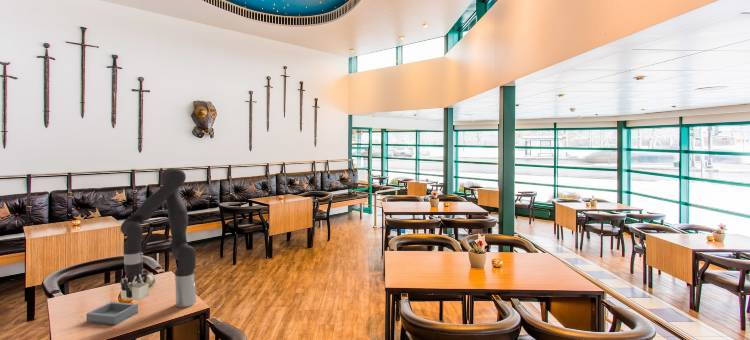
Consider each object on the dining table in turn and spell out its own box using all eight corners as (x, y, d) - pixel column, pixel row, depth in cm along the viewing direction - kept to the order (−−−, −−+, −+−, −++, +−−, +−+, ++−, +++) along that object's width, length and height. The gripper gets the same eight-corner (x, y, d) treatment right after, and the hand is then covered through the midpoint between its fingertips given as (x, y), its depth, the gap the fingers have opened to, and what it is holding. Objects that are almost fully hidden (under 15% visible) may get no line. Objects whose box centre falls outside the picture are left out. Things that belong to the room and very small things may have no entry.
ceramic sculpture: (159, 270, 230) (144, 280, 215) (161, 283, 231) (145, 294, 216) (143, 269, 230) (126, 280, 215) (144, 283, 231) (128, 294, 216)
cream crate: (131, 293, 185) (130, 282, 184) (149, 295, 183) (148, 283, 182) (121, 298, 179) (120, 286, 178) (139, 300, 177) (138, 288, 176)
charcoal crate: (111, 309, 194) (111, 301, 194) (138, 312, 192) (137, 304, 191) (86, 322, 181) (86, 313, 180) (114, 325, 178) (114, 316, 178)
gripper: (127, 267, 171) (129, 301, 173) (151, 257, 186) (153, 289, 187) (113, 266, 173) (116, 300, 174) (138, 256, 187) (140, 288, 188)
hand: (135, 294), depth 181 cm, fingers closed on cream crate, 6 cm apart
